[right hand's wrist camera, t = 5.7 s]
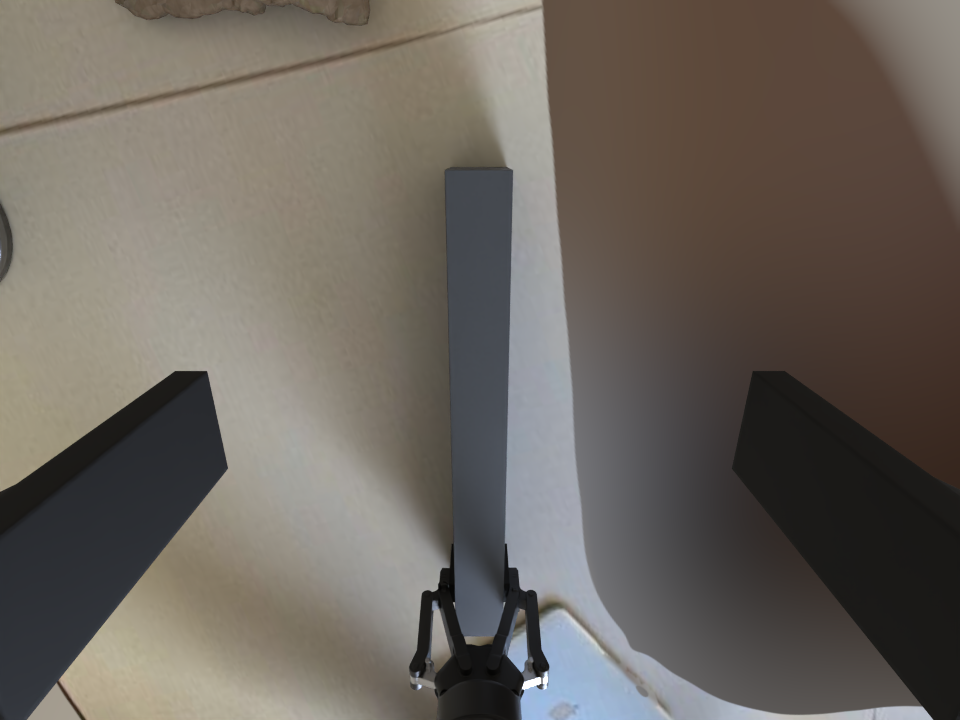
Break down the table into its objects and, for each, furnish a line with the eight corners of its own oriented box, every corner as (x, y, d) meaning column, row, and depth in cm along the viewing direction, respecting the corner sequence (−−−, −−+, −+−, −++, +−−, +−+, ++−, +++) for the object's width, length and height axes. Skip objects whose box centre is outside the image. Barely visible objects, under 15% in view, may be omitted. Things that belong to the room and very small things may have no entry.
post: (450, 167, 48) (444, 169, 40) (507, 167, 48) (512, 169, 41) (458, 580, 67) (455, 636, 59) (499, 580, 67) (502, 636, 59)
